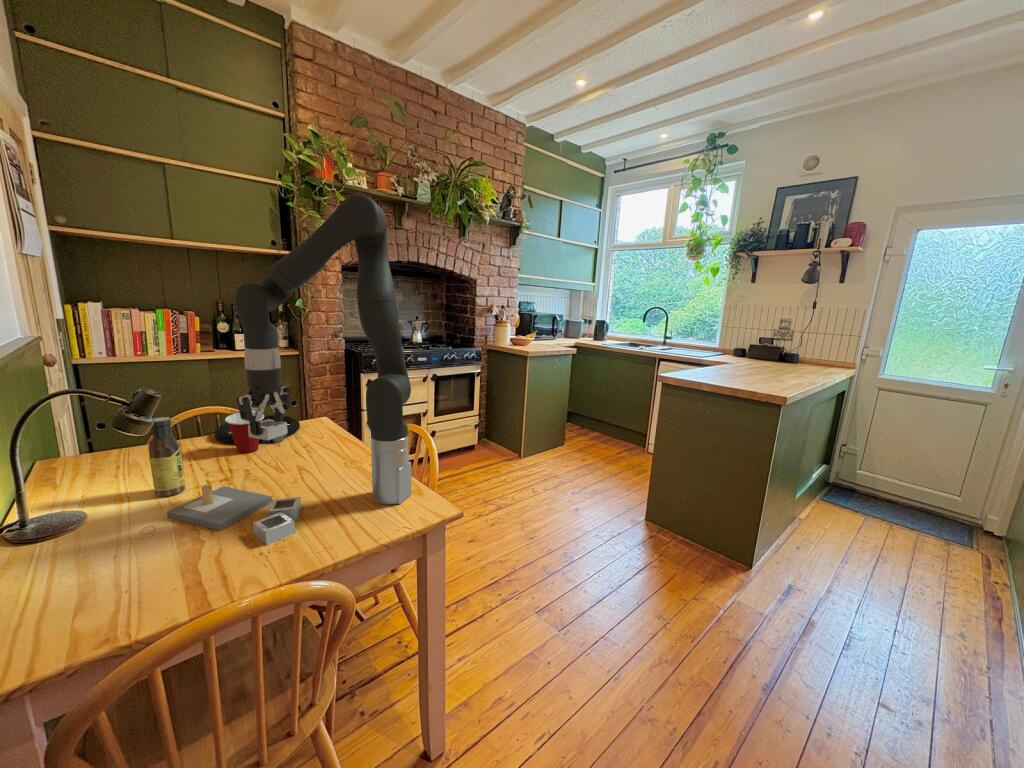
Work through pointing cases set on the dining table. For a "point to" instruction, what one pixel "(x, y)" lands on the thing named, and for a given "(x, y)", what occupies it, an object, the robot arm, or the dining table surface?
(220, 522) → the keeper board
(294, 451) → the dining table surface
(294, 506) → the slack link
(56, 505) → the dining table surface
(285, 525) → the slack link
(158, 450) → the sauce bottle
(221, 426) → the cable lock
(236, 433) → the plastic cup
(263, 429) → the grey square ring
